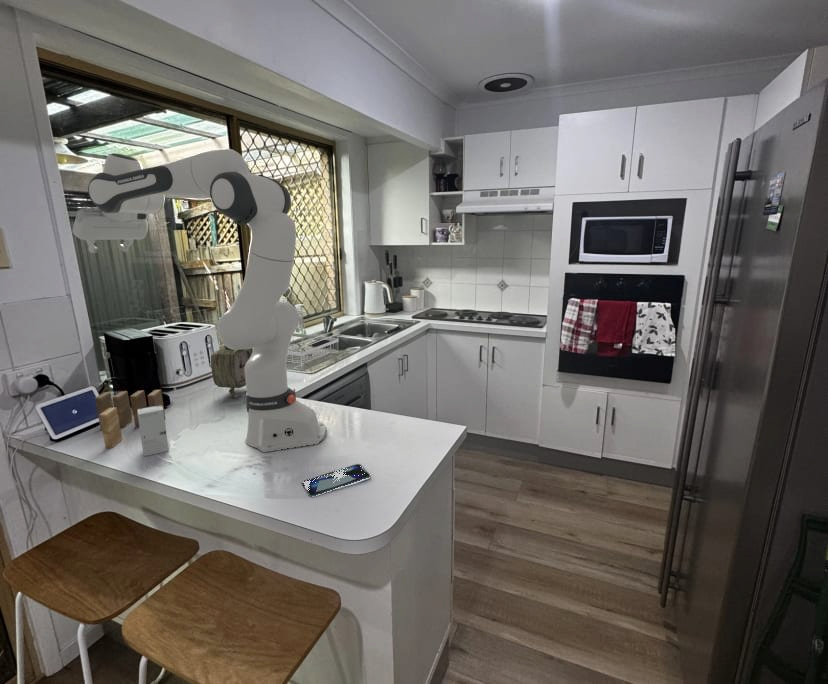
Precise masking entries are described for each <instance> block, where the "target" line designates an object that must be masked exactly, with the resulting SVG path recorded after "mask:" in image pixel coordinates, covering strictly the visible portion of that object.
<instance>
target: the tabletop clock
mask: <svg viewBox="0 0 828 684" xmlns="http://www.w3.org/2000/svg"><path fill="white" fill-rule="evenodd" d="M253 349H254V348H251V349H242V350H233V349H230V348H228V347H226V346H225V345H224V344H223V347H221V348H220V349H218V350H216V351H214V352H212V354H211V356H210V365H211V368H210V369H211V373H212V381H213V383H214V385H216V386H217V387H218V388H229V390H228V392H229V393H230V394H232V395H231V397H232V399H236V398H237V397H238V395H237V394H236V391H235V389H241V388H243V387H246V381H245V372H244V368H245V365H246V363H247V361H248V360H249V358H250V357H251V355H252V352H253Z"/></svg>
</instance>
